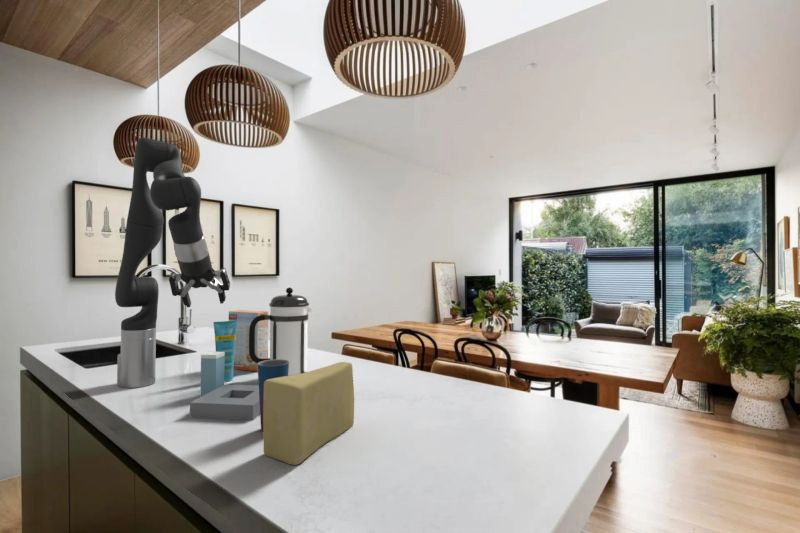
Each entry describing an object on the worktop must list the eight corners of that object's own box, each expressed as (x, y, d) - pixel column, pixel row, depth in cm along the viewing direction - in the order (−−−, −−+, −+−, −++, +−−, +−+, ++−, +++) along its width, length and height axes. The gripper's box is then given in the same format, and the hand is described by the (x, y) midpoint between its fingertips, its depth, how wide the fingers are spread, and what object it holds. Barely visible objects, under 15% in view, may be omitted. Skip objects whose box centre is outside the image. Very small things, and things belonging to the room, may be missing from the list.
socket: (189, 417, 101) (189, 400, 101) (224, 397, 117) (224, 382, 117) (252, 419, 99) (253, 403, 99) (279, 399, 115) (279, 384, 115)
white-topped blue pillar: (200, 397, 116) (201, 354, 116) (209, 392, 120) (209, 351, 120) (215, 398, 115) (216, 355, 116) (224, 393, 120) (224, 351, 120)
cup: (294, 425, 95) (295, 360, 96) (276, 437, 89) (277, 367, 89) (269, 422, 98) (270, 358, 98) (250, 432, 91) (250, 364, 91)
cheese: (335, 420, 99) (336, 357, 99) (368, 429, 94) (369, 362, 94) (260, 455, 81) (261, 377, 81) (296, 468, 75) (296, 385, 75)
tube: (215, 383, 130) (216, 322, 130) (210, 380, 134) (211, 320, 134) (239, 379, 135) (240, 320, 135) (233, 376, 139) (234, 319, 139)
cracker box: (268, 368, 150) (269, 311, 150) (256, 372, 145) (257, 312, 145) (240, 364, 156) (240, 309, 156) (227, 368, 150) (227, 310, 151)
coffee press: (289, 369, 149) (290, 286, 149) (320, 376, 140) (321, 287, 140) (247, 379, 135) (248, 287, 135) (278, 388, 126) (279, 289, 126)
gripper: (223, 244, 111) (234, 293, 120) (165, 248, 108) (180, 298, 117) (220, 258, 105) (231, 308, 114) (158, 263, 102) (175, 315, 111)
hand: (205, 303), depth 115 cm, fingers open, 8 cm apart
